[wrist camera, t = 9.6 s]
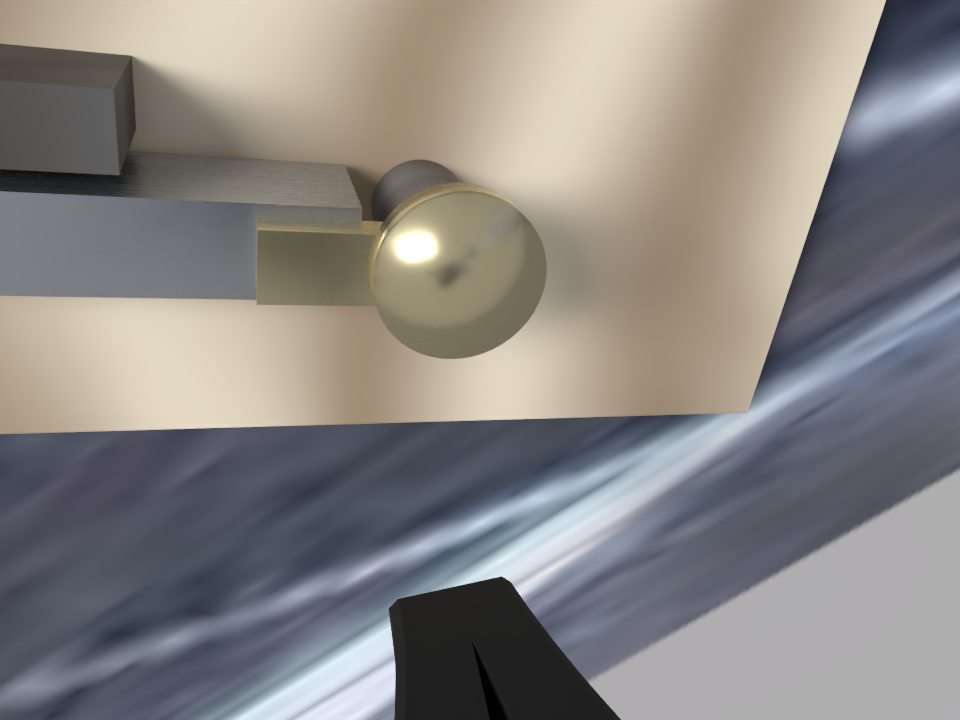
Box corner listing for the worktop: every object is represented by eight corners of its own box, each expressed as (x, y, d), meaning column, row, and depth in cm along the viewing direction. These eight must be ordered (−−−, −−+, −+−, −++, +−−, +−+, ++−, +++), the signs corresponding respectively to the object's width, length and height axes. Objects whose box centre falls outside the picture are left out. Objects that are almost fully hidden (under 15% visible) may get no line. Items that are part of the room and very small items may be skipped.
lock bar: (501, 142, 16) (561, 199, 13) (481, 280, 17) (531, 358, 14) (-152, 94, 13) (-259, 154, 10) (-116, 265, 14) (-200, 362, 11)
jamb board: (921, -197, 16) (1083, -214, 13) (731, 396, 22) (810, 476, 19) (-235, -463, 10) (-416, -597, 7) (-60, 413, 16) (-122, 529, 14)
